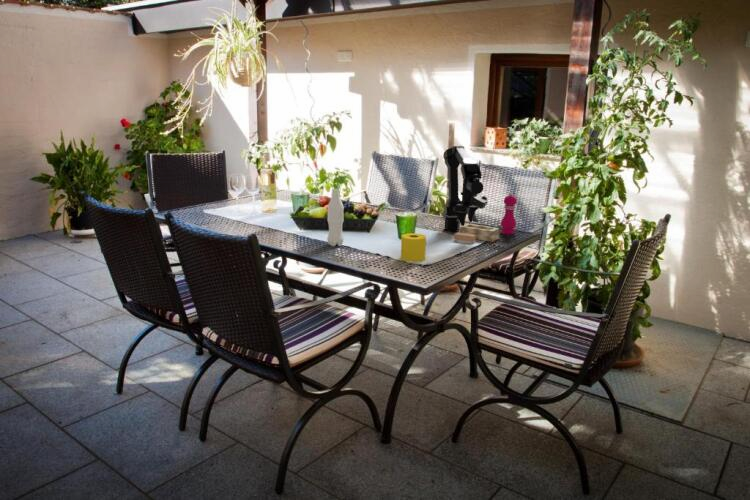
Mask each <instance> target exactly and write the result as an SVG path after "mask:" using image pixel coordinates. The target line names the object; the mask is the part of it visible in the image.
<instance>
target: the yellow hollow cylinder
mask: <svg viewBox="0 0 750 500" xmlns="http://www.w3.org/2000/svg"><path fill="white" fill-rule="evenodd" d="M400 240H401V242H400V245H401V246H400V248H401V249H400V259H401V260H402V261H404V262H409V261H411V263H417V261H419V262H423V261H425V260H426V246H427V245H426V244H427V243H426V242H427V236H426V235H424V234H422V233H416V232H415V233H413V232H412V233H411V232H410V233H404V234H402V235H401V238H400Z"/></svg>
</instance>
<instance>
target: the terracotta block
mask: <svg viewBox="0 0 750 500" xmlns="http://www.w3.org/2000/svg"><path fill="white" fill-rule="evenodd" d="M453 239H454V240H455V241H456V240H462V241H470V242H474V241H475V240H477V239H476V235H474V234H466V233H460V232H458V231H456V232H455V233H454V237H453Z"/></svg>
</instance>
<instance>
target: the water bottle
mask: <svg viewBox="0 0 750 500" xmlns="http://www.w3.org/2000/svg"><path fill="white" fill-rule="evenodd" d="M331 191H332V192H331V199H330V200H329V203H328V204H327V219H326V220H327V223H328V235H327V239H326V240H327V244H328V245H329V246H331V247H336V245H337V247H341V246H342V245H343V243H344V240H345V239H344V238H345V237H344V235H343V223H344V221H345V220H344V210H345V207H344V204H343V202H342V200H341V197H340V189H339V188H332V190H331Z"/></svg>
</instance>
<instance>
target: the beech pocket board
mask: <svg viewBox="0 0 750 500" xmlns="http://www.w3.org/2000/svg"><path fill="white" fill-rule="evenodd" d="M459 233H466V234H474V235H476V240H480V241H485V242H492V243H493V242H495V241H496V240H499V237H500V236H499V233H500V228H499V227H494V226H487V225H479V224H473V223H465V224H464V226H462V225H460V230H459Z"/></svg>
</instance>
